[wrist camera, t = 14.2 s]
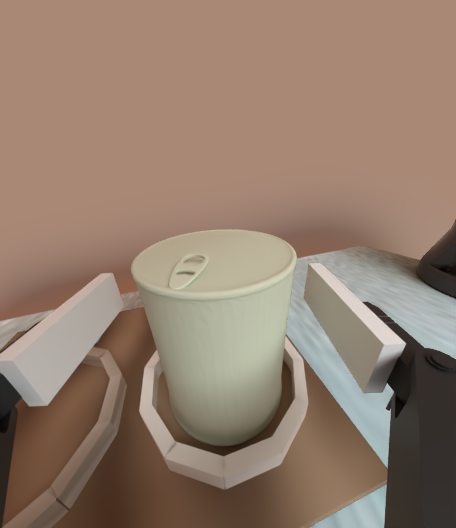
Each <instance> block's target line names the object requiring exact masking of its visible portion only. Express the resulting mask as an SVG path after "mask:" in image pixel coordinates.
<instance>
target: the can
mask: <svg viewBox="0 0 456 528" xmlns="http://www.w3.org/2000/svg"><path fill="white" fill-rule="evenodd" d="M296 262H297V256H296V253H295V250H294V249H293V247H291V245H290V244H288V243H287V242H285V241H284V240H282V239H280V238H278V237H275V236H272V235H269V234H265V233H261V232H255V231H249V230H234V229H223V230H222V229H221V230H206V231H198V232H192V233H187V234H182V235H178V236H174V237H171V238H168V239H165V240H163V241H160V242H157V243H155V244H154V245H151V246H149V247H148V248H146V249H145V250H143V251H142V252H141V253H139V254H138V255H137V256H136V258H135V259H134V261H133V262H132V265H131V274H132V277H133V279H134V280H135V282H136V285H137V288H138V291H139V294H140V297H141V300H142V303H143V306H144V309H145V312H146V316H147V319H148V322H149V325H150V328H151V331H152V335H153V338H154V341H155V345H156V348H157V351H158V355H159V358H160V362H161V365H162V368H163V372H164V375H165V379H166V382H167V386H168V390H169V400H170V405H171V409H172V412H173V414H174V416H175V418H176V420H177V422H178V423H179V425H180V426H181V427H182V428H183V429H184V430H185V431H186V432H187V433H188V434H189V435H190V436H192V437H193V438H195V439H197V440H199V441H201V442H203V443H206V444H209V445H214V446H233V445H237V444H241V443H243V442H246V441H248V440H250V439H252V438H254V437H255V436H257V435H258V434H259V433H261V432H262V431H263V430H264V429H265V428H266V427H267V426H268V425H269V423H270V422H271V421H272V419H273V417H274V416H275V414H276V412H277V410H278V407H279V404H280V400H281V395H282V380H281V373H282V363H283V354H284V344H285V335H286V327H287V319H288V311H289V303H290V295H291V287H292V281H293V274H294V268H295V266H296Z"/></svg>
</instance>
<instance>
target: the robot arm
mask: <svg viewBox="0 0 456 528" xmlns="http://www.w3.org/2000/svg"><path fill="white" fill-rule="evenodd" d="M416 272H417V274H418V276H419V277H420V278H421V279H422V280H423V281H425V282H426V283H428V284H429V285H431V286H432V287H434V288H436V289H438V290H440V291H442V292H444V293H447V294H449V295H451V296H454V297H456V220H455V222H454V224H453V226H452V227H451V229H450V230H449V231H448V232H447V233H446V234H445V235H444V236H443V237H442V238H441V239H440V240H439V241H438V242H437V243H436V244H435V245H434V246H433V247H432V248H431V249H430V250H429V251H428V252H427V253H426V254H425V255H424V256H423V257H422V259H421V260H420V263H419V265H418V267H417V270H416ZM304 299H305V301H306V302H307V304H308V306H309V307H310V309H311V310H312V312H313V314H314V315H315V317H316V318H317V320H318V321H319V323H320V325H321V326H322V328H323V329H324V331H325V333H326V334H327V336H328V337H329V339H330V341H331V342H332V344H333V345H334V347H335V348H336V350H337V352H338V353H339V355H340V356H341V358H342V360H343V361H344V363H345V364H346V366H347V368H348V369H349V371H350V372H351V374H352V375H353V377H354V379H355V380H356V382H357V383H358V385H359V387H360V388H361V390H362V391H363V393H380V392H383V390H384V388H385V386H386V384H387V383H388V384H389V386H390V387H391V388H392V389H393V391H394V394H393V395H392V397H391V399H390V401H389V403H388V405H387V407H386V409H387V410H390V409H391V421H390V438H389V456H388V473H387V491H386V508H385V526H384V528H456V359H454V358H452V357H451V356H449V355H447V354H445V353H443V352H440V351H437V350H434V349H430V348H424V347H423V346H422V345H421V344H420V343H418V342H417V341H416V340H415V339H414V338H413V337H412V336H410V335H409V334H408V333H407V332H406V331H405V330H404V329H402V328H401V327H400V326H399V325H398V324H397V323H395V322H394V321H393V320H392V319H391V318H390V317H388V316H387V315H386V314H385V313H384V312H383V311H382V310H381V309H379V308H378V307H376V306H374V305H373V304H371V303H369V302H361V301H360V300H359V299H358V298H357V297H356V296H355V295H354V294H353V293H352V292H351V291H350V290H349V289H347V288H346V287H345V286H344V285H343V284H342V283H341V282H340V281H339V280H338V279H337V278H336V277H335V276H334V275H333V274H331V273H330V272H329V271H328V270H327V269H326V268H325V267H324V266H323V265H322V264H321V263H310V264H309V265H308V272H307V279H306V285H305V292H304ZM123 307H124V304H123V301H122V298H121V295H120V293H119V290H118V287H117V284H116V281H115V278H114V275H113V273H101V274H100V275H99V276H97V278H95V279H94V280H92V281H91V282H90V283H89V284H87V285H86V286H85V287H84V288H82V289H81V290H80V291H79V292H77V293H76V294H75V295H74V296H72V297H71V298H70V299H69V300H67V301H66V302H65V303H64V304H62V305H61V306H60V307H59V308H57V309H56V310H55V311H53V312H52V313H51V314H50V315H48V316H47V317H46V318H45V319H43V320H42V321H40V322H38V323H36V324H35V325H34V326H32V327H31V328H30V329H28V330H27V331H26V332H25V334H22V335H21V336H20V337H18V338H17V340H16V341H13V342H12V343H11V344H9V345H8V346H7V347H6V348H4V349H3V350H2V351H0V528H2V524H3V517H4V510H5V503H6V495H7V488H8V481H9V474H10V467H11V459H12V452H13V445H14V438H15V431H16V424H17V416H18V410H17V408H16V407H15V405H16V404H17V403H18V401H19V400H20V399H21V398H22V399H23V400H24V401H25V402H26V403H27V404H28V406H48V404H49V403H50V402H51V400H52V399H53V398H54V396H55V395H56V394H57V393H58V391H59V390H60V389H61V387H62V386H63V385H64V383H65V382H66V381H67V380H68V378H69V377H70V376H71V374H72V373H73V372H74V370H75V369H76V368H77V367H78V365H79V364H80V363H81V361H82V360H83V359H84V358H85V356H86V355H87V354H88V352H89V351H90V350H91V348H92V347H93V346H94V345H95V343H96V342H97V341H98V339H99V338H100V337H101V335H102V334H103V333H104V332H105V330H106V329H107V328H108V326H109V325H110V324H111V322H112V321H113V320H114V319H115V317H116V316H117V315H118V313H119V312H120V311H121V310H122V308H123Z"/></svg>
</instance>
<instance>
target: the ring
mask: <svg viewBox="0 0 456 528" xmlns="http://www.w3.org/2000/svg"><path fill="white" fill-rule="evenodd" d="M283 360H284V361H285V363H286V364H287V366H288V367H289V369H290V371H291V376H292V394H293V402H292V404H291V406H290V407H289V409H288V411H287V412H286V414H285V416H284V417H283V419H282V421H281V423H280V424H279V426H278V428H277V429H276V431H275V433H274V434H273V436H272V437H270V438H268V439H265V440H263V441H260V442H258V443H255V444H253V445H251V446H248V447H246V448H243V449H241V450H238V451H236V452H233V453H231V454H229V455H226V456H224V457H223V456H220V455H217V454H214V453H211V452H207V451H204V450H201V449H198V448H195V447H191V446H188V445H185V444H182V443H179V442H175V440H174V439H173V437H172V436H171V434H170V432H169V431H168V429H167V428H166V426H165V424H164V423H163V421H162V420H161V418H160V416H159V415H158V413H157V395H158V378H159V376H160V375H161V373H162V371H163V368H162V365H161V362H160V358H159V355H158V351H157V350H156V351H155V353H154V354H153V356H152V357H151V359H150V360H149V361H148V363H147V364H146V366H145V368H144V375H143V383H142V391H141V400H140V408H139V413H140V415H141V417H142V419H143V422H144V424H145V426H146V428H147V430H148V431H149V433H150V435H151V437H152V439H153V441H154V442H155V444H156V446H157V448H158V450H159V452H160V454H161V455H162V457H163V459H164V461H165V463H166V465H167V466H168V468H169V469H170V471H173V472H176V473H179V474H182V475H185V476H187V477H190V478H193V479H196V480H199V481H201V482H204V483H207V484H210V485H213V486H216V487H218V488H221V489H224V490H225V488H226V489H228V488H230V487H233V486H235V485H237V484H239V483H242V482H244V481H246V480H248V479H250V478H253V477H255V476H257V475H259V474H261V473H264V472H266V471H268V470H270V469H272V468H275V467H277V466H279V465H280V464H281V463H282V461H283V459H284V457H285V455H286V453H287V451H288V449H289V447H290V446H291V444H292V442H293V440H294V438H295V436H296V434H297V432H298V430H299V428H300V426H301V424H302V422H303V420H304V418H305V416H306V411H307V407H308V395H307V387H306V379H305V371H304V362H303V358H302V357H301V356H300V354H299V353H298V352H297V350H296V349H295V348H294V346H293V345H292V344H291V342H290V341H289V340H288V338H287V337H286V336H285V344H284V354H283Z"/></svg>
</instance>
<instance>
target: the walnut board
mask: <svg viewBox="0 0 456 528" xmlns="http://www.w3.org/2000/svg"><path fill="white" fill-rule="evenodd" d="M25 332H26V331H23V332H18V333H17V334H16V335H15V336H14V337H13V338H12V339H11V340H10V341H9V342H8V343H7V344H6V345H5V346H4V347H3V348H2V349H1V350H0V351H2V350H3V349H4V348H6V347H7V346H8V345H9V344H11V343H12V342H13V341H16V340H17V338H18V337H20V336H21V335H22V334H25ZM285 336H286V337H287V338H288V340H289V341H290V342H291V344H292V345H293V346H294V348H295V349H296V350H297V352H298V353H299V354H300V356H301V357H302V358H303V362H304V371H305V379H306V387H307V395H308V407H307V411H306V416H305V418H304V420H303V422H302V424H301V426H300V428H299V430H298V432H297V434H296V436H295V438H294V440H293V442H292V444H291V446H290V447H289V449H288V451H287V453H286V455H285V457H284V459H283V461H282V463H281V464H280V465H279V466H277V467H275V468H272V469H270V470H268V471H266V472H264V473H261V474H259V475H257V476H255V477H253V478H250V479H248V480H246V481H244V482H242V483H239V484H237V485H235V486H233V487H230V488H228V489H226V488H225V490H224V489H221V488H218V487H216V486H213V485H210V484H207V483H204V482H201V481H199V480H196V479H193V478H190V477H187V476H185V475H182V474H179V473H176V472H173V471H170V469H169V468H168V466H167V465H166V463H165V461H164V459H163V457H162V455H161V454H160V452H159V450H158V448H157V446H156V444H155V442H154V441H153V439H152V437H151V435H150V433H149V431H148V430H147V428H146V426H145V424H144V422H143V419H142V417H141V415H140V413H139V408H140V400H141V391H142V383H143V375H144V368H145V366H146V364H147V363H148V361H149V360H150V359H151V357H152V356H153V354H154V353H155V351H156V350H157V348H156V345H155V341H154V338H153V335H152V331H151V328H150V325H149V322H148V319H147V316H146V312H145V309H144V307H142V308H137V309H132V310H127V311H122V312H119V313H118V315H117V316H116V317H115V319H114V320H113V321H112V322H111V324H110V325H109V326H108V328H107V329H106V330H105V332H104V333H103V334H102V335H101V337H100V338H99V339H98V341H97V342H96V343H95V345H94V346H93V347H92V348H91V350H90V351H89V352H88V354H87V355H86V356H85V358H84V359H83V360H82V361H81V363H80V364H79V365H78V367H77V368H76V369H75V370H74V372H73V373H72V374H71V376H70V377H69V378H68V380H67V381H66V382H65V383H64V385H63V386H62V387H61V389H60V390H59V391H58V393H57V394H56V395H55V396H54V398H53V399H52V400H51V402H50V403H49V404H48V406H28V404H27V403H26V402H25V401H24V400H23V399H22V398H21V399H20V400H19V401H18V403H17V404H16V405H15V407H16V408H17V410H18V416H17V424H16V431H15V438H14V445H13V452H12V459H11V467H10V474H9V481H8V488H7V495H6V503H5V510H4V517H3V524H2V528H309V527H310V526H312V525H314V524H316V523H318V522H319V521H321V520H323V519H325V518H326V517H328V516H330V515H332V514H334V513H335V512H337V511H339V510H341V509H343V508H344V507H346V506H348V505H350V504H352V503H353V502H355V501H357V500H359V499H360V498H362V497H364V496H366V495H368V494H369V493H371V492H373V491H375V490H377V489H378V488H380V487H382V486H384V485H386V484H387V473H388V469H387V467H386V466H385V465H384V464H383V462H382V461H381V460H380V458H379V457H378V456H377V454H376V453H375V452H374V450H373V449H372V448H371V446H370V445H369V444H368V442H367V441H366V440H365V438H364V437H363V436H362V434H361V433H360V432H359V430H358V429H357V428H356V426H355V425H354V424H353V422H352V421H351V420H350V418H349V417H348V416H347V414H346V413H345V412H344V410H343V409H342V408H341V406H340V405H339V404H338V402H337V401H336V400H335V398H334V397H333V396H332V395H331V393H330V392H329V391H328V389H327V388H326V387H325V385H324V384H323V383H322V381H321V380H320V379H319V377H318V376H317V375H316V373H315V372H314V371H313V369H312V368H311V367H310V365H309V364H308V363H307V361H306V360H305V359H304V357H303V356H302V355H301V353H300V352H299V351H298V349H297V348H296V347H295V345H294V344H293V343H292V341H291V340H290V339H289V337H288V336H287V335H285ZM281 380H282V395H281V400H280V404H279V407H278V410H277V412H276V414H275V416H274V417H273V419H272V421H271V422H270V423H269V425H268V426H267V427H266V428H265V429H264V430H263V431H262V432H261V433H259V434H258V435H257V436H255V437H254V438H252V439H250V440H248V441H246V442H243V443H241V444H237V445H233V446H214V445H209V444H206V443H203V442H201V441H199V440H197V439H195V438H193V437H192V436H190V435H189V434H188V433H187V432H186V431H185V430H184V429H183V428H182V427H181V426H180V425H179V423H178V422H177V420H176V418H175V416H174V414H173V412H172V409H171V405H170V400H169V390H168V386H167V382H166V379H165V375H164V372H163V371H162V373H161V375H160V376H159V378H158V395H157V413H158V415H159V416H160V418H161V420H162V421H163V423H164V424H165V426H166V428H167V429H168V431H169V432H170V434H171V436H172V437H173V439H174V440H175V442H179V443H182V444H185V445H188V446H191V447H195V448H198V449H201V450H204V451H207V452H211V453H214V454H217V455H220V456H223V457H224V456H226V455H229V454H231V453H233V452H236V451H238V450H241V449H243V448H246V447H248V446H251V445H253V444H255V443H258V442H260V441H263V440H265V439H268V438H270V437H272V436H273V434H274V433H275V431H276V429H277V428H278V426H279V424H280V423H281V421H282V419H283V417H284V416H285V414H286V412H287V411H288V409H289V407H290V406H291V404H292V402H293V394H292V376H291V371H290V369H289V367H288V366H287V364H286V363H285V361H284V360H283V363H282V373H281Z"/></svg>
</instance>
